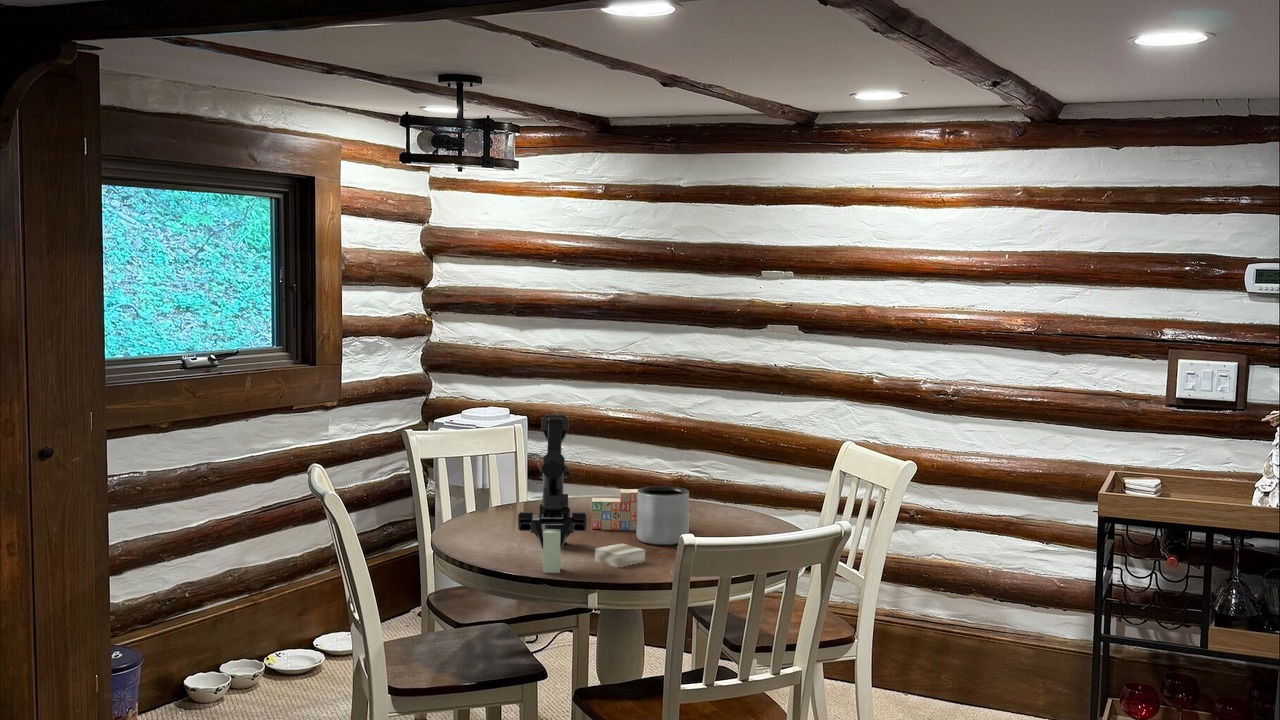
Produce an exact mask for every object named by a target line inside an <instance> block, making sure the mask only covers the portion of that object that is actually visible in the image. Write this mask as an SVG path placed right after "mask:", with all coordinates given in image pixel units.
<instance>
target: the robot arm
mask: <svg viewBox="0 0 1280 720" xmlns="http://www.w3.org/2000/svg"><path fill="white" fill-rule="evenodd" d="M569 419H570V417H567V416H566V414H555V413H554V414H551V413H550V414H547V413H546V414H545V416H544V417H541V418H540V420H541V423H540V424H541V426H540V427H541V430H542V431H543V437H544V438H545V440H546V442H547V448H546V449H547V453H546V454H545V455H544V456H543V458H542V464H540V467H539V478H542V499H541V501H542V503H540V504H539V515H535V514H533V513H534V512H533V511H520V512H519V513H518V514H517V516H518V517H517V522H518V523H517V524H518V525H517V526H518V527H517V528H518V531H522V532H523V531H525V532H526V531H527V532H530V533H531V534H534V536H535V537H536V539H537V540H538V541H539V545H540V547H541V549H542V550H543V530H544V529H561V539H560V550H562V549H563V547H564V545H567V544H568V542H567V539H568V537H569V536H570V534H573V533H575V532H585V531H587V513H586V512H583V511H582V512H581V511H579V512H578V511H577V512H576V511H573V512H572V516H571V508H570V507H569V493H564V481H565V479H567V478H568V476H569V475H570V468H568V465H567V464H566V465H565V463H566V462H565V461H566V460H565V459H566V458H565V456H564V455H563V453H562V444H563V442H564V441H565V439H566V438H567V431H569V430H570V420H569ZM542 526H543V527H542Z"/></svg>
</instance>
